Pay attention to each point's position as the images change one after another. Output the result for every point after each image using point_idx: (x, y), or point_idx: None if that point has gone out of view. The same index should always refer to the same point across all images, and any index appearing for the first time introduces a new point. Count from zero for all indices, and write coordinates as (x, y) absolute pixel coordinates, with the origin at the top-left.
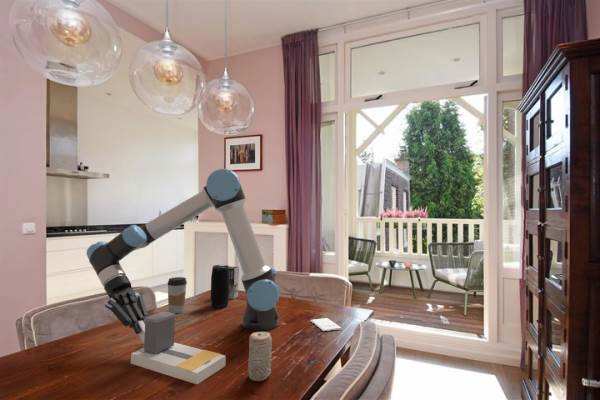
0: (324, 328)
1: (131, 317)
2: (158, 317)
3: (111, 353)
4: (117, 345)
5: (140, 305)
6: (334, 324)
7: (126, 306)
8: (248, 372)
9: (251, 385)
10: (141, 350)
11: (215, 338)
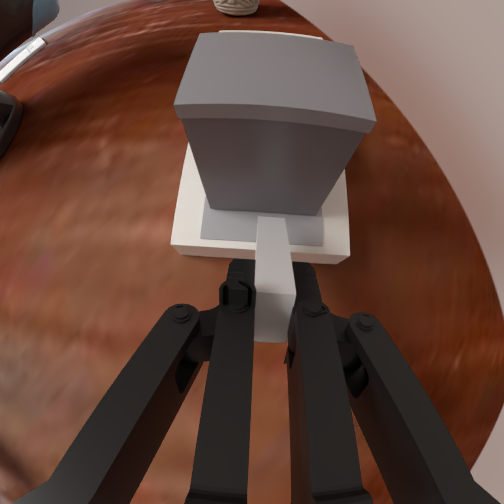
0: (38, 45)
1: (335, 349)
2: (316, 55)
3: None
4: None
5: (138, 440)
6: (25, 48)
7: (354, 469)
8: (248, 9)
9: (268, 10)
10: (314, 234)
11: (63, 159)
